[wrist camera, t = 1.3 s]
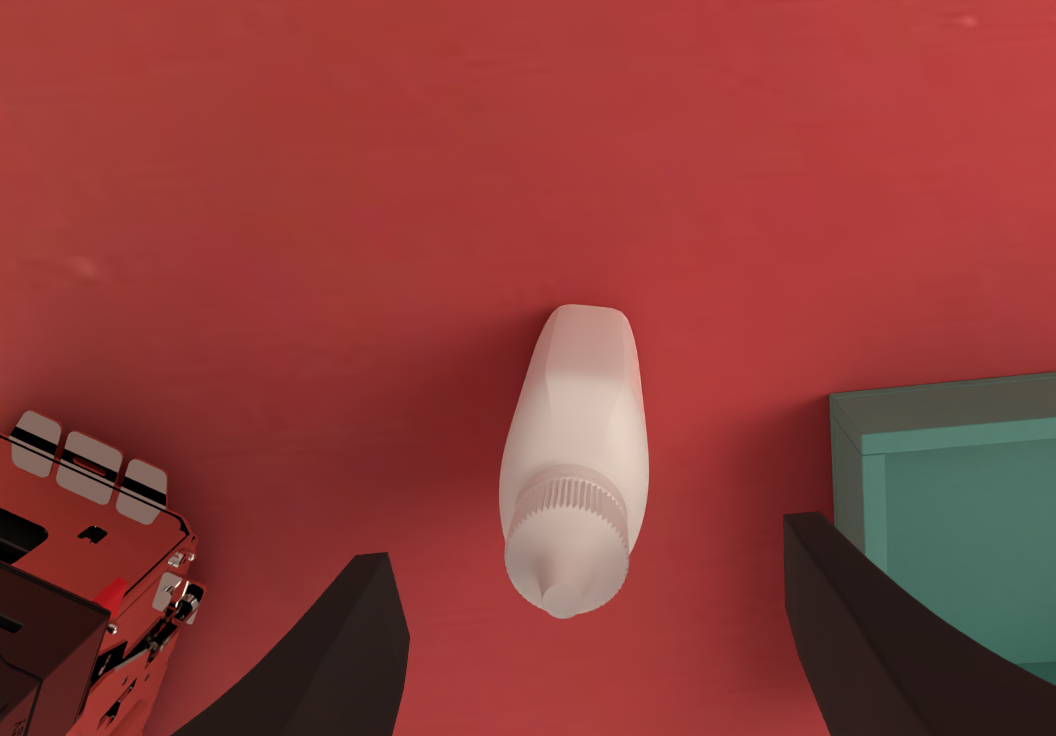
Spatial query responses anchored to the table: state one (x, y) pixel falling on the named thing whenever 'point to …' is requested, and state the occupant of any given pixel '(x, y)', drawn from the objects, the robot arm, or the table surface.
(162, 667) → the bill acceptor
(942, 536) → the desk tidy
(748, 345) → the table surface
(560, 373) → the eye dropper bottle
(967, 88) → the table surface
